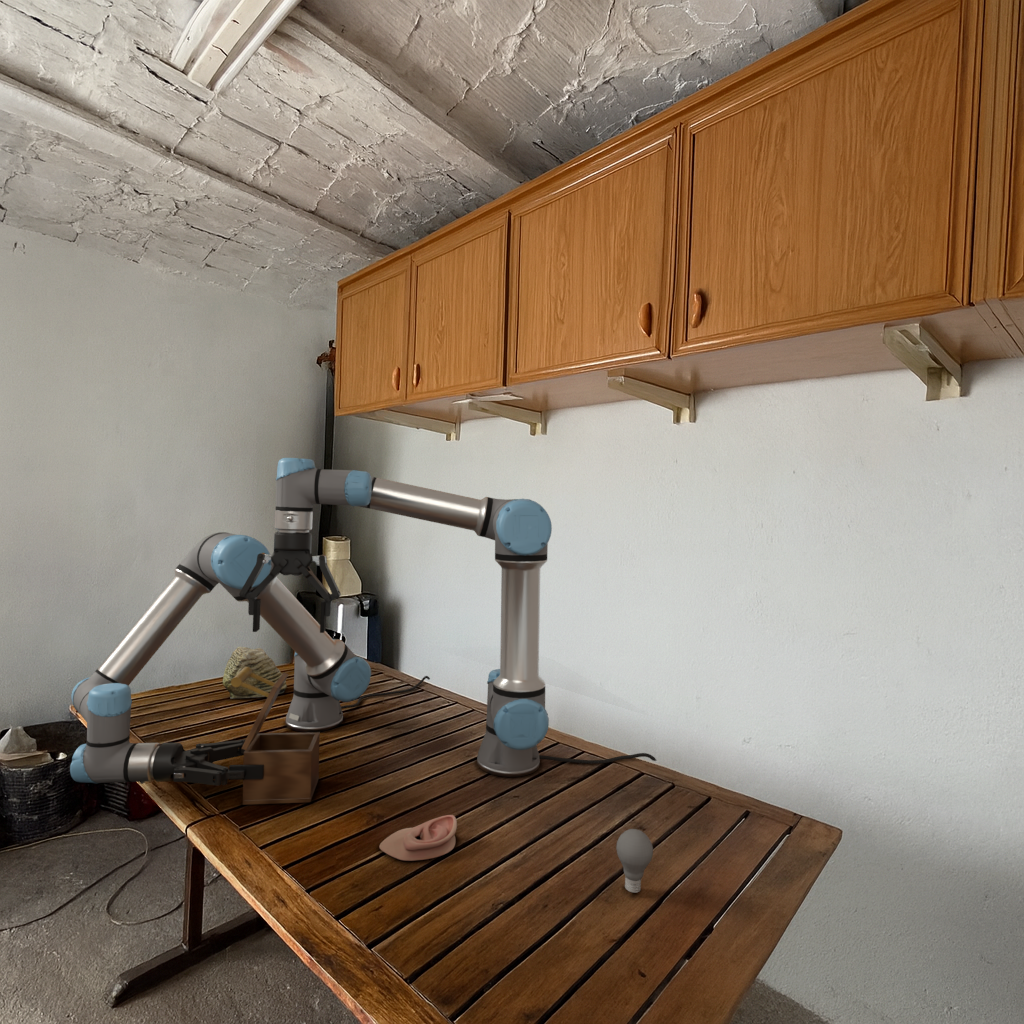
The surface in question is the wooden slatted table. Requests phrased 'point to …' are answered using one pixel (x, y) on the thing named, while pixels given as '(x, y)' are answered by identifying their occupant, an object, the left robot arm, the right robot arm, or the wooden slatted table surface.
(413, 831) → the anatomical model
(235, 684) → the lid
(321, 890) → the wooden slatted table surface
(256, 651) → the fossil
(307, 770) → the chest
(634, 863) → the light bulb
